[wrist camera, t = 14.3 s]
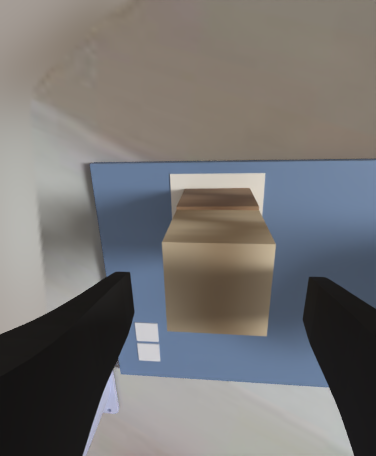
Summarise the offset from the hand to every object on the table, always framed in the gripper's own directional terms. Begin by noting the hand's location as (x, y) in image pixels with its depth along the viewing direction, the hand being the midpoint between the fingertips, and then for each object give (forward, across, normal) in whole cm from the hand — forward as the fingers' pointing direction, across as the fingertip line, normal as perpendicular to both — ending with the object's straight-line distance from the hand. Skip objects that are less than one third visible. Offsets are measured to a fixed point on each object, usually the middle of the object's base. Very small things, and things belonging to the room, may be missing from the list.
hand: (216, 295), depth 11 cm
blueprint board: (+10, -3, +6) cm, 12 cm away
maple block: (+5, 0, 0) cm, 5 cm away
